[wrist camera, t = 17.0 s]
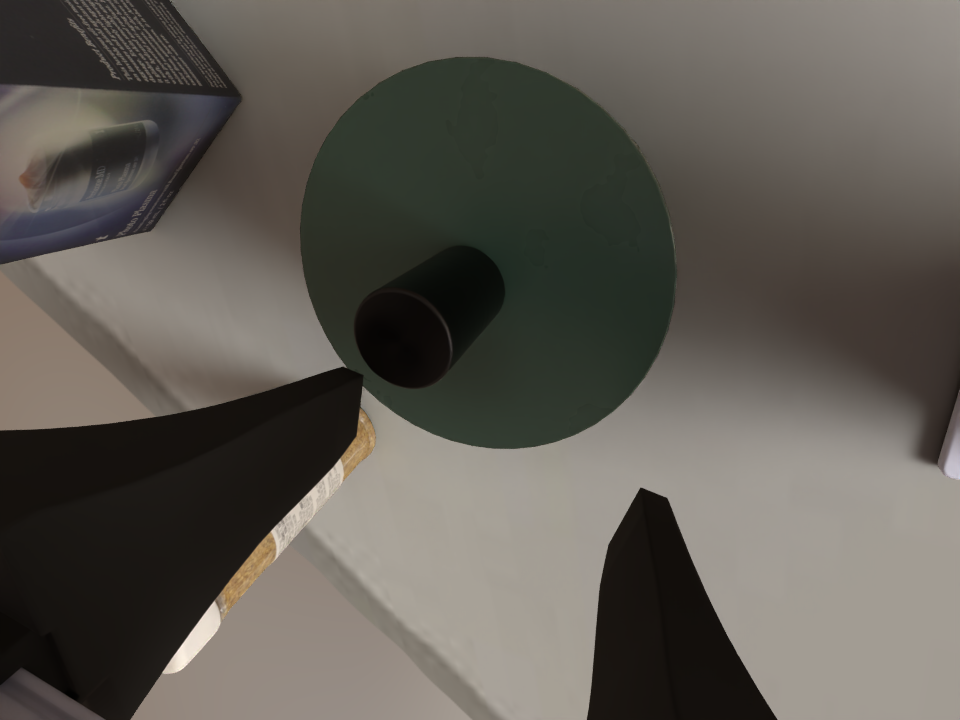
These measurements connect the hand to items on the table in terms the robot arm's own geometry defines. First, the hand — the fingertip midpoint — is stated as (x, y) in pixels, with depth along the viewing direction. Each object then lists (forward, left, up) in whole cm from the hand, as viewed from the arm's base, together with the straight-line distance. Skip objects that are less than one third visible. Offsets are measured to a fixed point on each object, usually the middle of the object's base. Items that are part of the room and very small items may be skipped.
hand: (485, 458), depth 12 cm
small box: (+19, -10, -11) cm, 24 cm away
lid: (+1, -3, -4) cm, 5 cm away
